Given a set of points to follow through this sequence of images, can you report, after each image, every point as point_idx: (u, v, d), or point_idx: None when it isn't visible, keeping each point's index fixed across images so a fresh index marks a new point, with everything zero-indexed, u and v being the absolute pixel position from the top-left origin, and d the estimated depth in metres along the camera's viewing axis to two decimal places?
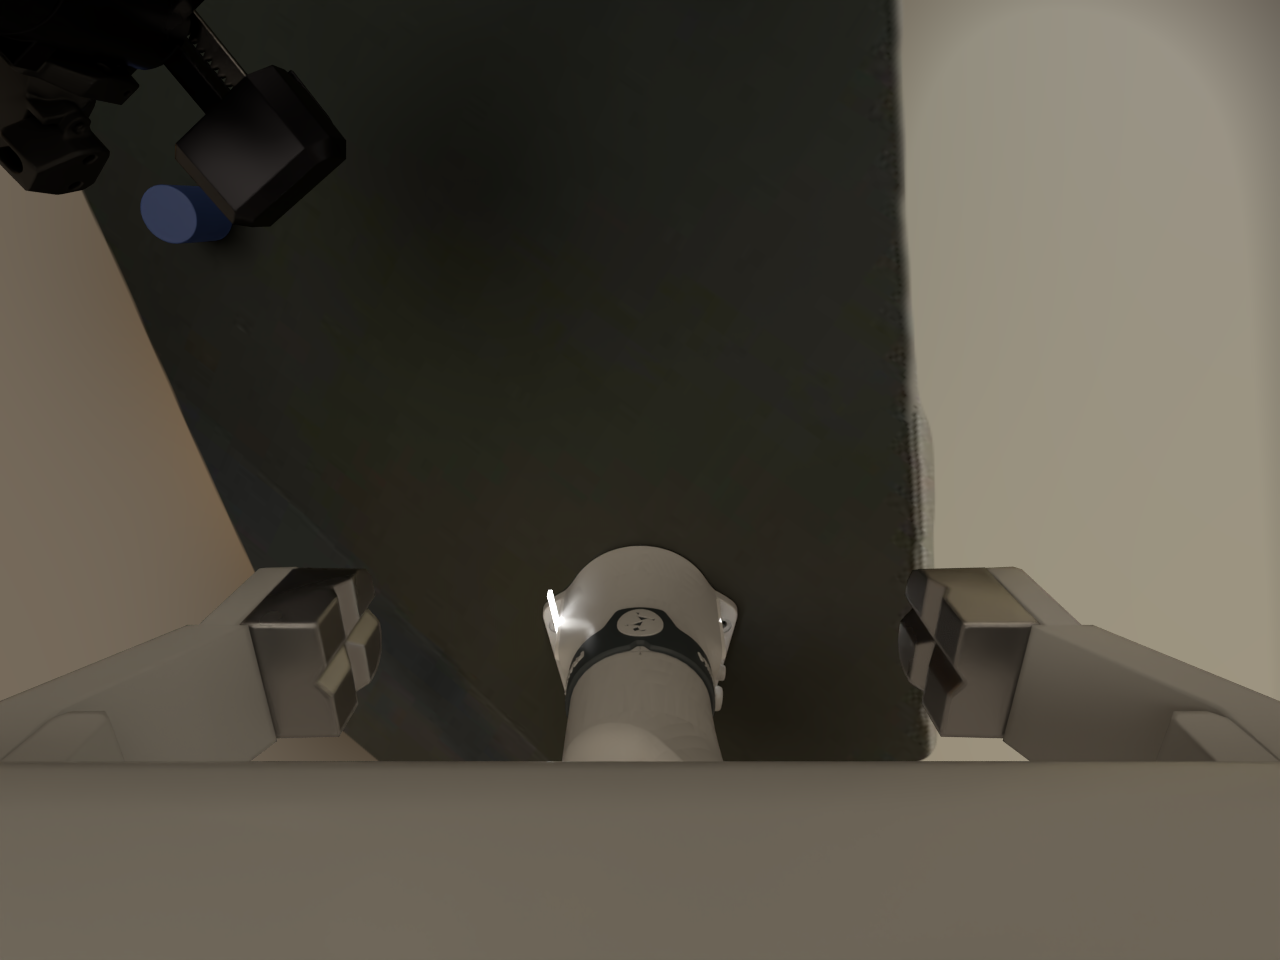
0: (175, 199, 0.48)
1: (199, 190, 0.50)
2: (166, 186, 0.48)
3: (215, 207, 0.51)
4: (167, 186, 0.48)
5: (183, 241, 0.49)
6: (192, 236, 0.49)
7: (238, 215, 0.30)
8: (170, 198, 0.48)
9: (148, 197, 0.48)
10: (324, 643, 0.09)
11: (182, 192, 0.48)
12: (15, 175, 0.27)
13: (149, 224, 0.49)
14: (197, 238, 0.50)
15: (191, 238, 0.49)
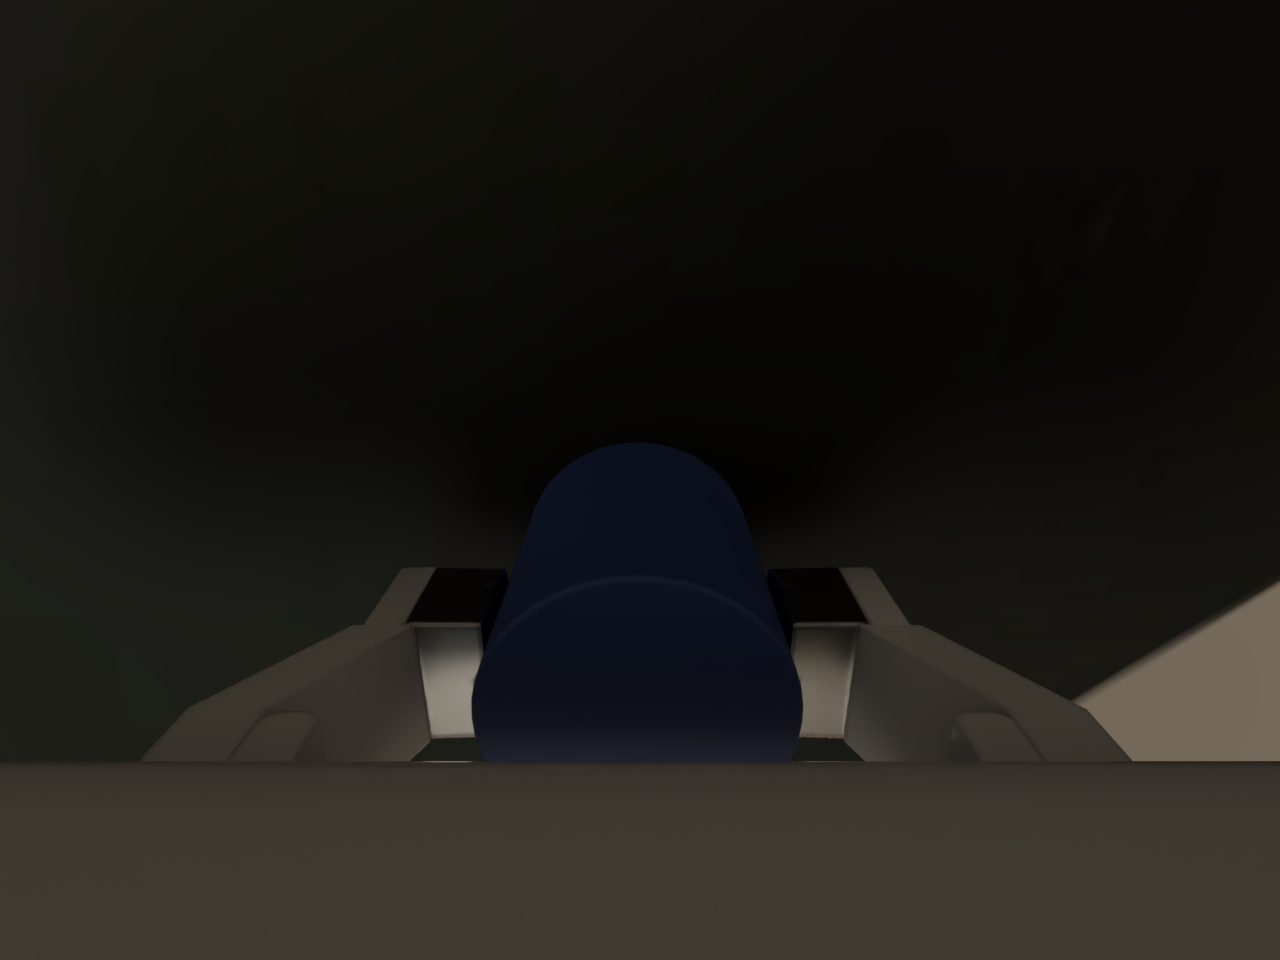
0: (531, 718, 0.08)
1: None
2: None
3: (540, 522, 0.10)
4: None
5: (747, 614, 0.07)
6: (686, 579, 0.07)
7: None
8: (543, 738, 0.08)
9: None
10: (485, 643, 0.09)
11: (472, 699, 0.08)
12: None
13: None
14: (704, 548, 0.08)
15: (706, 579, 0.08)
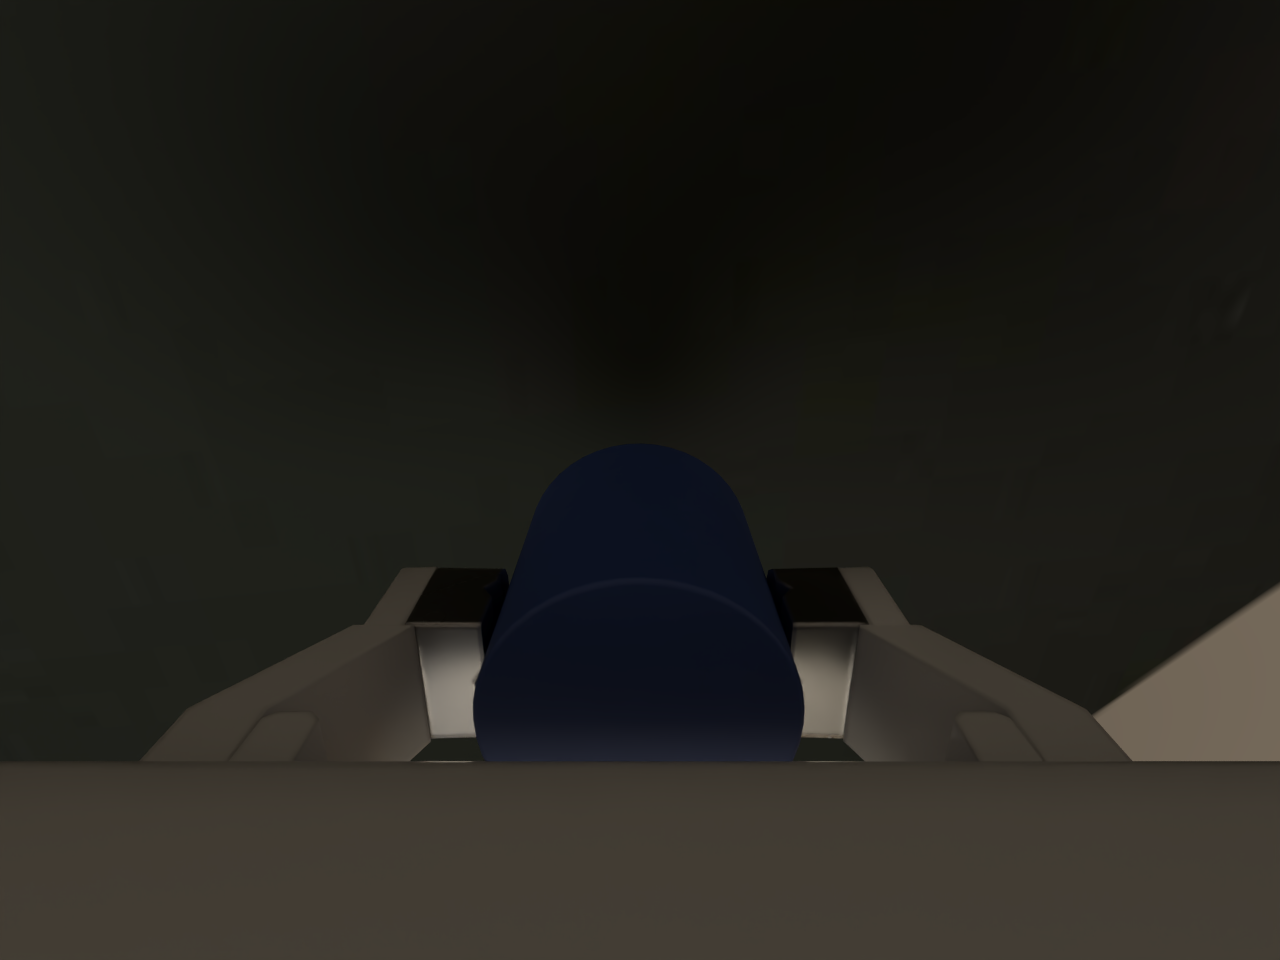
0: (532, 721, 0.08)
1: None
2: None
3: (541, 524, 0.10)
4: None
5: (749, 616, 0.07)
6: (689, 580, 0.07)
7: None
8: (544, 740, 0.08)
9: None
10: (484, 642, 0.09)
11: (473, 701, 0.08)
12: None
13: None
14: (705, 550, 0.08)
15: (708, 581, 0.08)
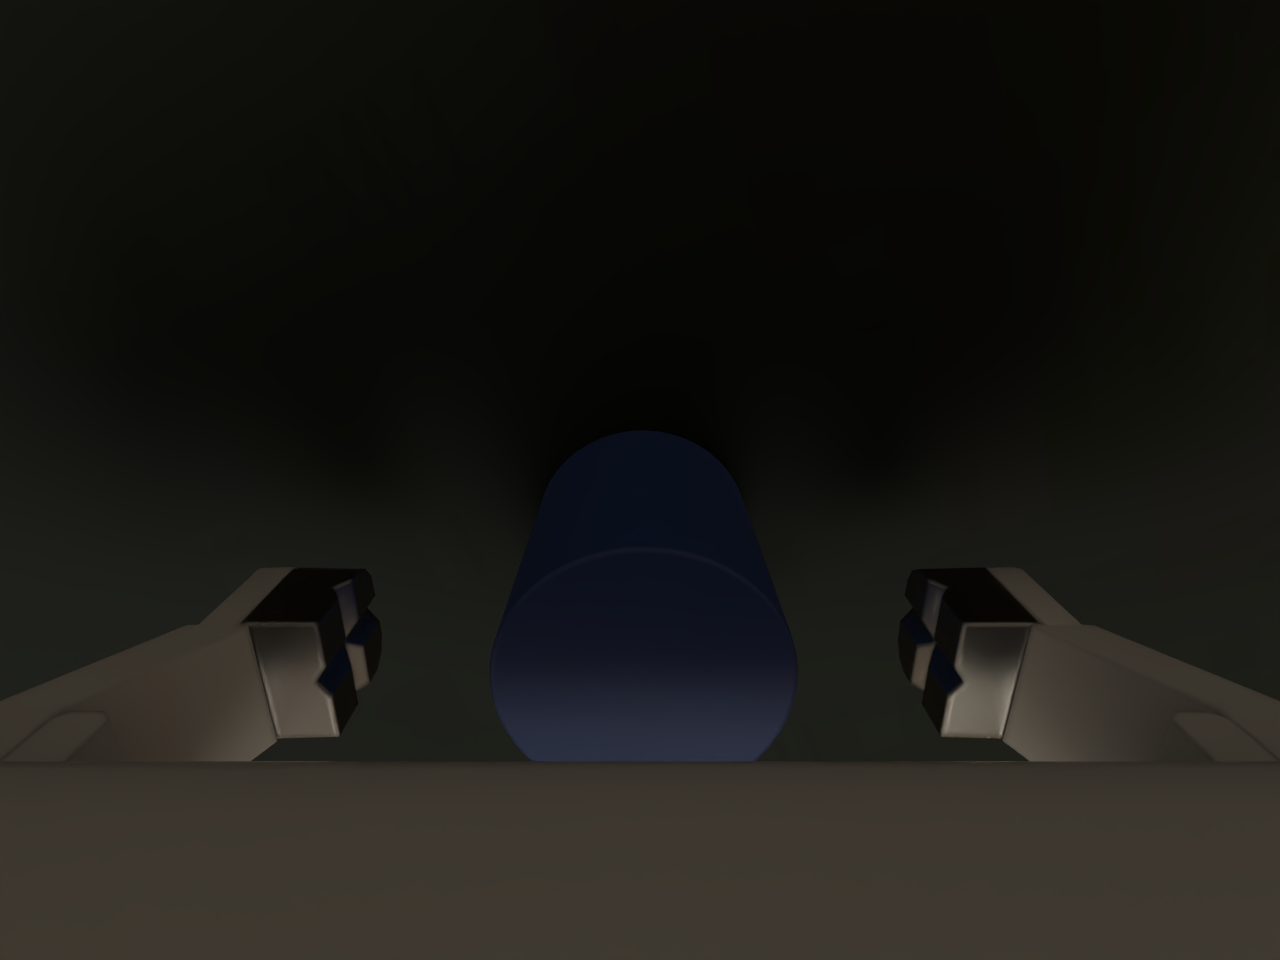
0: (544, 682, 0.09)
1: None
2: (512, 730, 0.09)
3: (551, 504, 0.11)
4: (508, 727, 0.09)
5: (745, 583, 0.08)
6: (690, 550, 0.08)
7: None
8: (556, 700, 0.09)
9: None
10: (324, 643, 0.09)
11: (490, 663, 0.09)
12: None
13: (751, 745, 0.09)
14: (706, 525, 0.09)
15: (708, 551, 0.08)
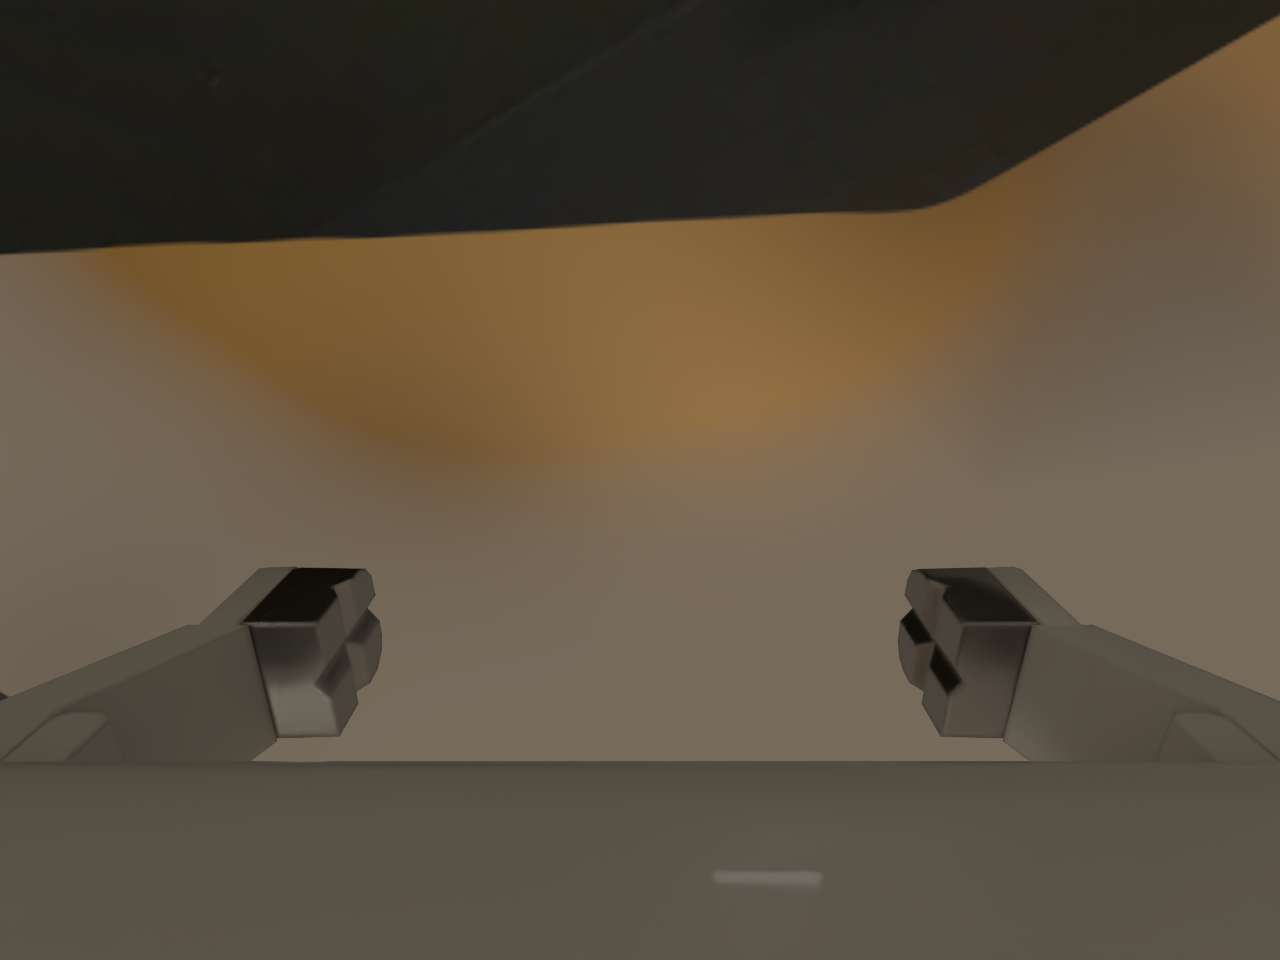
0: None
1: None
2: None
3: None
4: None
5: None
6: None
7: None
8: None
9: None
10: (324, 643, 0.09)
11: None
12: None
13: None
14: None
15: None
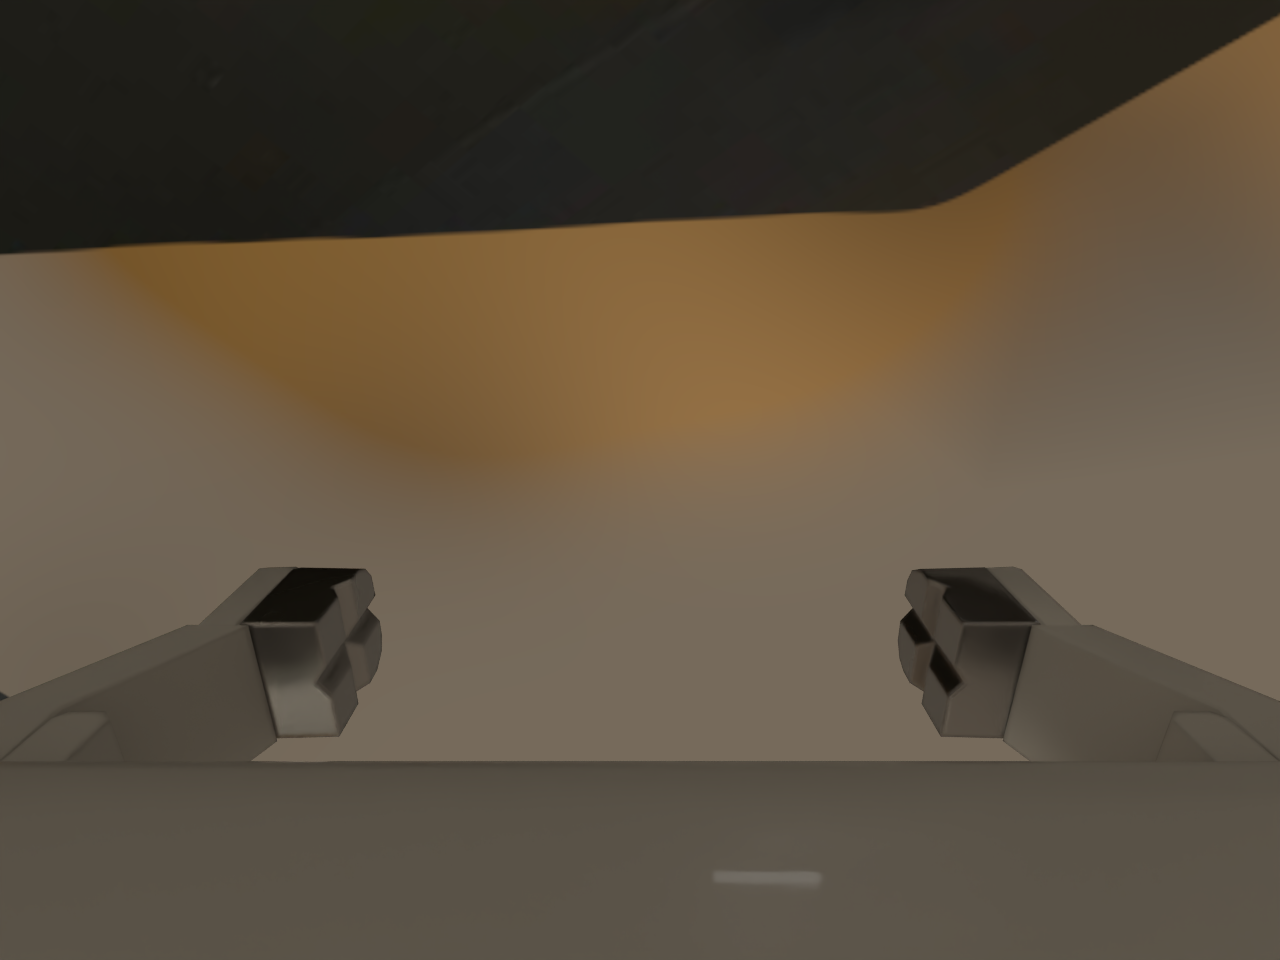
0: None
1: None
2: None
3: None
4: None
5: None
6: None
7: None
8: None
9: None
10: (324, 643, 0.09)
11: None
12: None
13: None
14: None
15: None
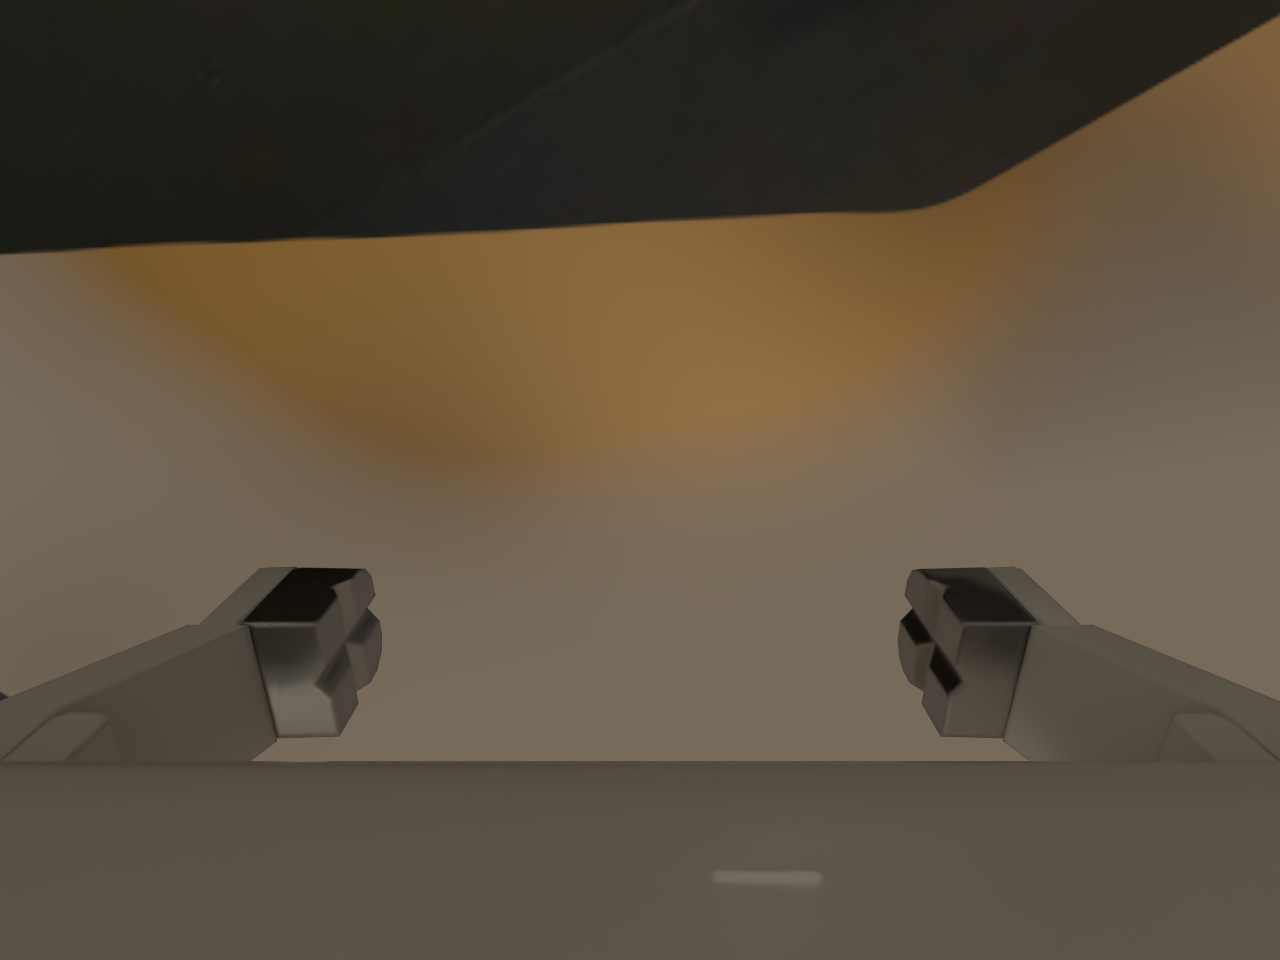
0: None
1: None
2: None
3: None
4: None
5: None
6: None
7: None
8: None
9: None
10: (324, 643, 0.09)
11: None
12: None
13: None
14: None
15: None
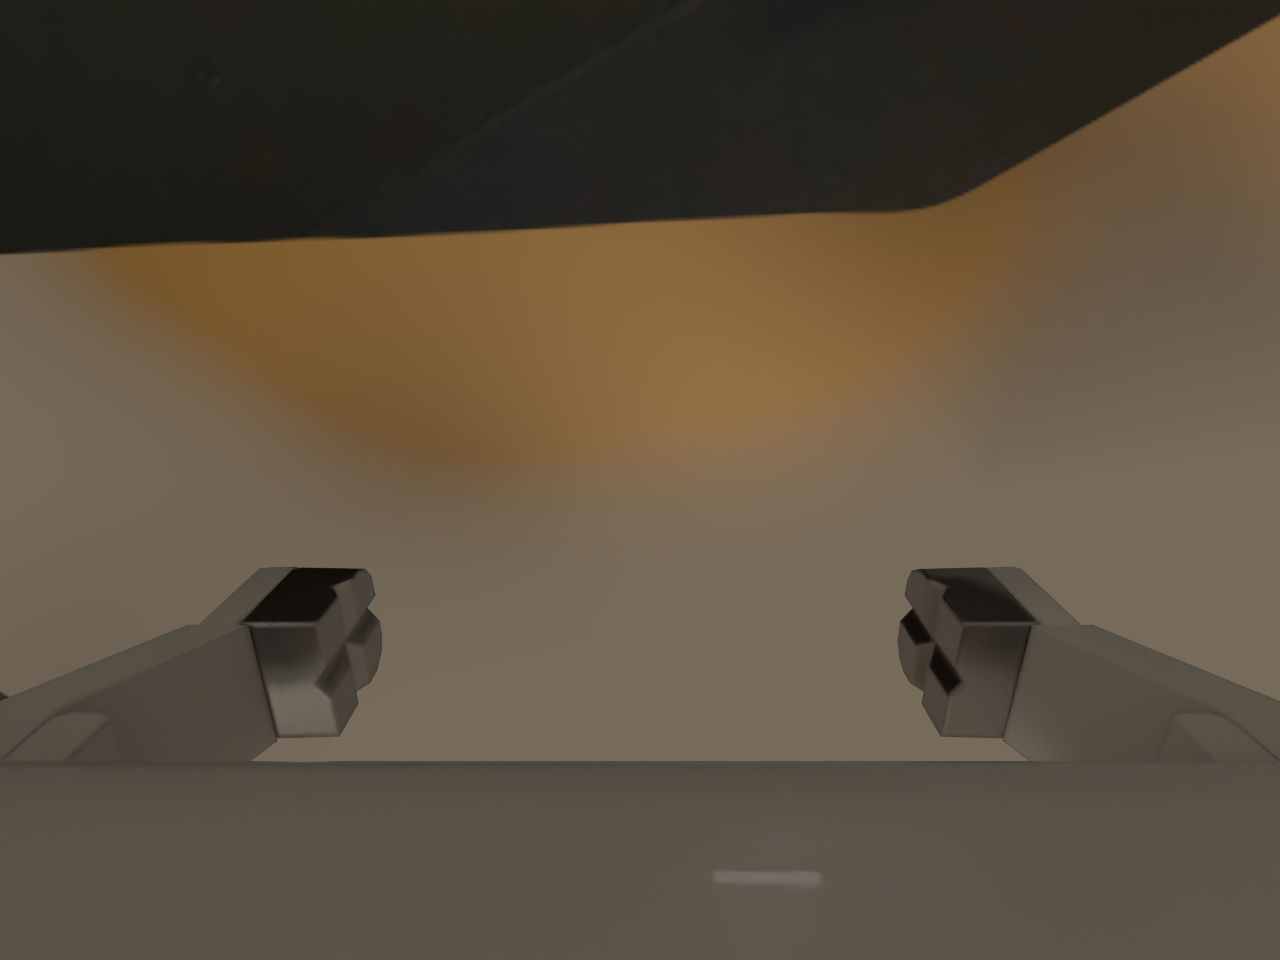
0: None
1: None
2: None
3: None
4: None
5: None
6: None
7: None
8: None
9: None
10: (325, 643, 0.09)
11: None
12: None
13: None
14: None
15: None
